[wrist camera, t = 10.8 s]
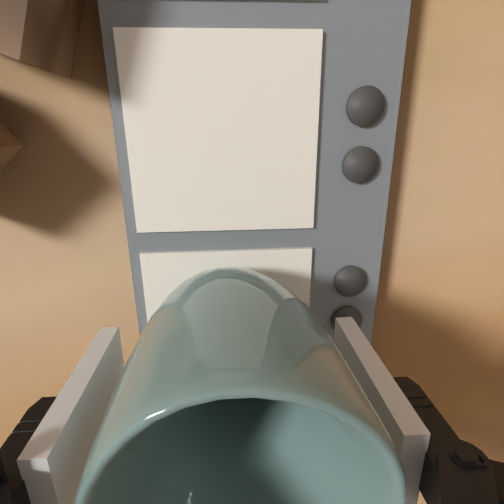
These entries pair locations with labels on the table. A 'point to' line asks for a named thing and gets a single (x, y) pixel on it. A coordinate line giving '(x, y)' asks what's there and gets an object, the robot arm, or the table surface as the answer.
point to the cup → (239, 407)
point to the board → (257, 142)
